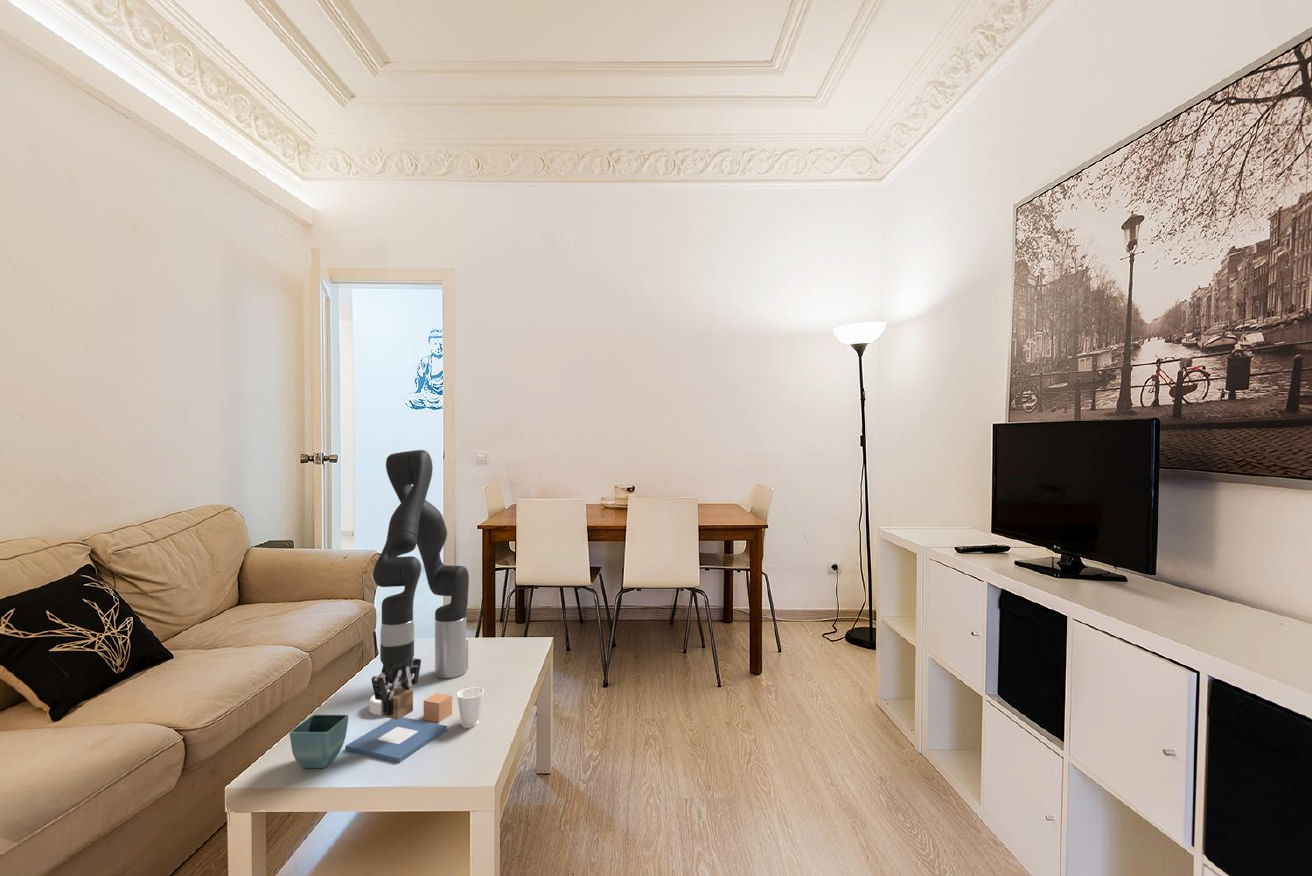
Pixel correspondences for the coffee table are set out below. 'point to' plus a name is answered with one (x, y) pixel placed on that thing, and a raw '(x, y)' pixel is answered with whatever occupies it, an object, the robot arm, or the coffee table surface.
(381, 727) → the board
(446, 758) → the coffee table surface
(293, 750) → the flower pot
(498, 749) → the coffee table surface
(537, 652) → the coffee table surface
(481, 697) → the cup
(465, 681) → the coffee table surface
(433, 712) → the terracotta block
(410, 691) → the walnut block
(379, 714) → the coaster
